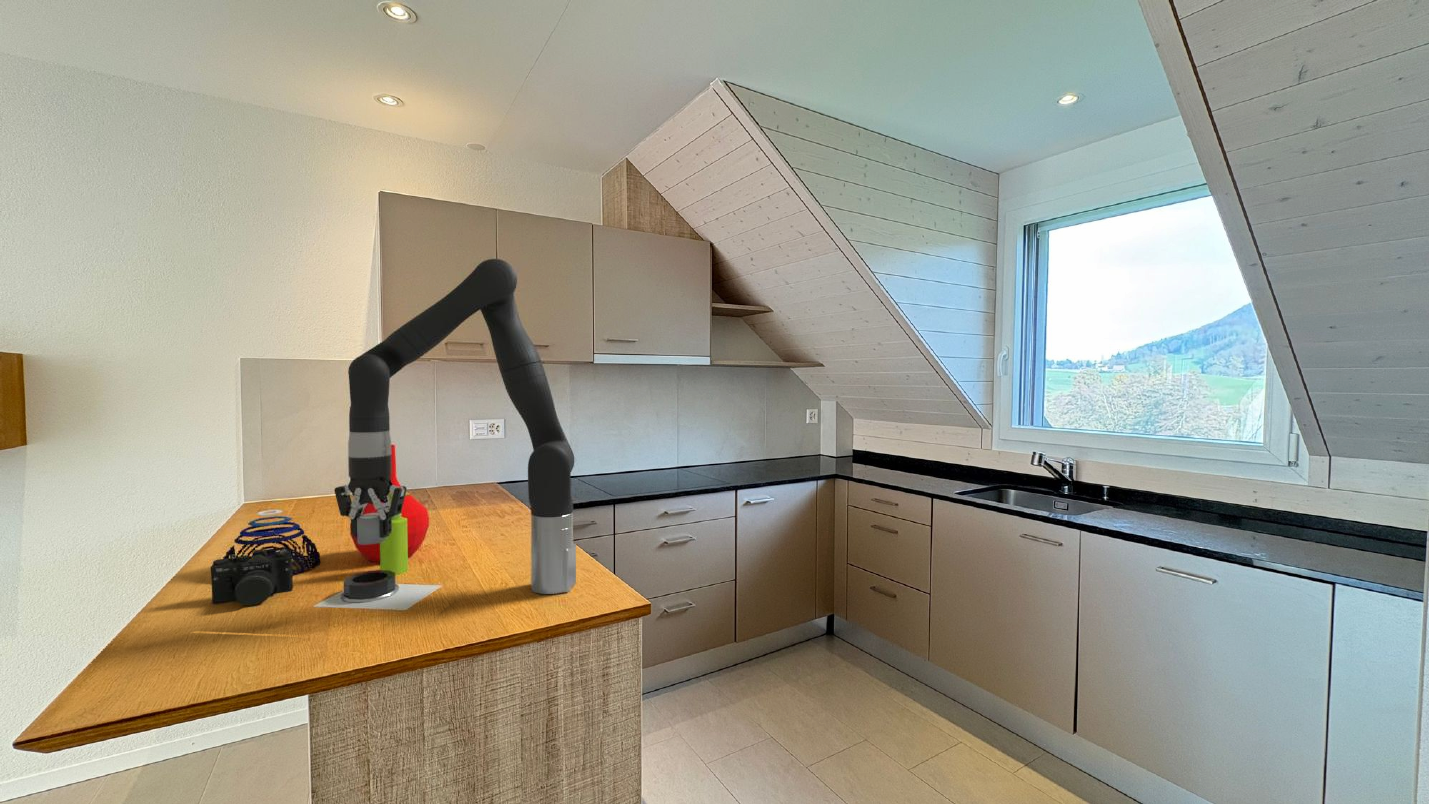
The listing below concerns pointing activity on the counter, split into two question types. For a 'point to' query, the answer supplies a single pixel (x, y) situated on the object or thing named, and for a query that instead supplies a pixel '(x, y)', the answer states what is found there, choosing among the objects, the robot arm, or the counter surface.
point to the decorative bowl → (278, 541)
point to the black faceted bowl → (369, 586)
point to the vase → (410, 510)
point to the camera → (251, 577)
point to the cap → (369, 529)
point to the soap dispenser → (395, 546)
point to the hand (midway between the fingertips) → (371, 536)
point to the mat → (398, 601)
